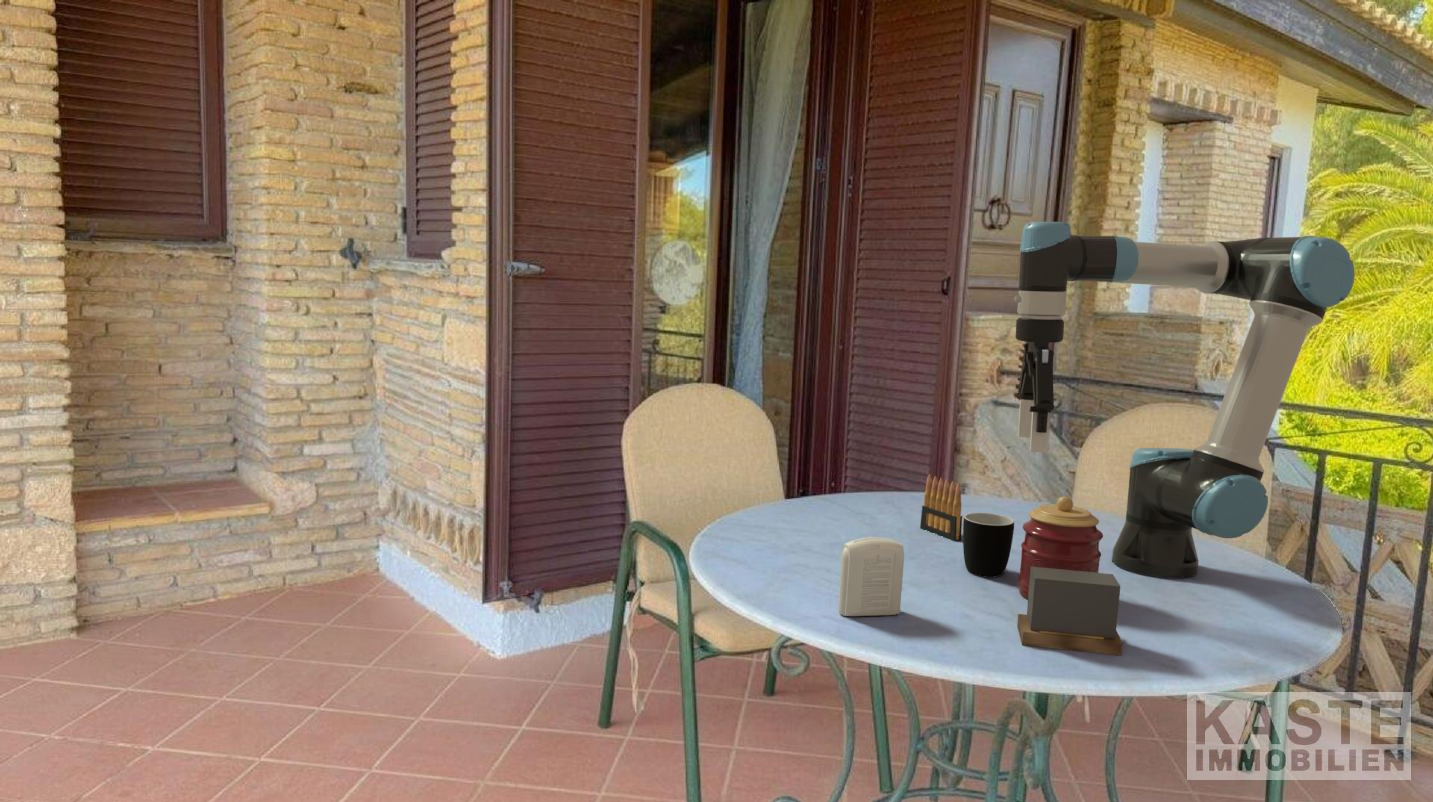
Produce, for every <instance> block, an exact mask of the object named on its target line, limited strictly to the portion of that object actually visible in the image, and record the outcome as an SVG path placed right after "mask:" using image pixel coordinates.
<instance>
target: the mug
mask: <svg viewBox="0 0 1433 802" xmlns="http://www.w3.org/2000/svg"><path fill="white" fill-rule="evenodd" d="M1014 531H1015V520H1014V519H1013V518H1011V517H1008V516H1006V515H1001V514H997V513H992V512H991V513H990V512H971V513H967V514H964V516H963V520H962V547H963V548H962V549H963V559H964V565H965V568H966V570H967V571H968V573H970V574H972V575H974V576H978V577H984V578H997V577H998V578H999V577H1001V576H1002V575H1003V574H1004V573H1005V571H1006V570H1007V569H1006V568H1007V565H1008V563H1009V559H1010V555H1011V550H1012V544H1013V540H1014V539H1013V538H1014V533H1015V532H1014Z"/></svg>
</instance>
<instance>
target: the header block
mask: <svg viewBox="0 0 1433 802" xmlns="http://www.w3.org/2000/svg"><path fill="white" fill-rule="evenodd" d="M1017 630H1018V634H1019V638H1020V642H1021V645H1022V646H1029V647H1031V646H1032V647H1039V648H1047V649H1056V650H1057V649H1059V650H1066V651H1075V652H1076V651H1077V652H1085V653H1094V654H1096V653H1097V654H1105V655H1113V656H1122V655H1123V654H1122V653H1123V643H1124V642H1123V640H1122V639H1121V637H1120V635H1119V632H1118V631H1117V630H1116V637H1115V639H1112V638H1103V637H1093V636H1084V635H1074V634H1065V633H1056V632H1046V631H1037V630H1030V626H1029V623H1028V619H1027V614H1021V613H1017Z"/></svg>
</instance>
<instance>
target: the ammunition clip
mask: <svg viewBox="0 0 1433 802" xmlns="http://www.w3.org/2000/svg"><path fill="white" fill-rule="evenodd" d="M955 485H956V486H955ZM919 529H920V530H922V531H923V530H924V531H925V530H927V531H926V532H928V531H929V532H928V533H931V534H933V533H935V534H934V535H936V534H937V536H939V537H941V536H943V537H942V538H943V539H947V540H949V539H950V541H953V542H957V541H962V531H963V515H962V488H961V483H960V482H958V483H957V484H955V481H954V480H952V481H951V483H949V480H948V479H947V478H946V480H945V482H944V480H943V478H942V477H940V479H939V481H938V477H937V475H935V476H934V478H933V480H932V475H931V473H929V474H928V476H927V479H926V486H925V491H924V498H923V505H922V506H921V517H920V525H919Z"/></svg>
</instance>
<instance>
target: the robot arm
mask: <svg viewBox="0 0 1433 802" xmlns="http://www.w3.org/2000/svg"><path fill="white" fill-rule="evenodd" d="M1071 227H1072V226H1071V224H1070V222H1063V221H1031V222H1028V223H1026V224H1025V225H1024V227H1023V229H1022V235H1021V239H1020V240H1021V241H1020V249H1019V252H1020V253H1019V254H1020V257H1019V275H1018V276H1019V277H1018V278H1019V279H1018V295H1015V296H1014V299H1013V300H1014V302H1015V303H1018V304H1017V308H1016V309H1017V314H1018V315H1020V317H1018V318H1017V319H1016V324H1015V339H1016V340H1017V341H1019V342H1020V341H1021V342H1025V343H1024V345H1023V348H1024V349H1023V357H1022V358H1023V359H1022V365H1021V366H1022V367H1021V373H1020V380H1019V387H1018V390H1017V391H1018V393H1019V398H1020V399H1019V410H1018V411H1019V412H1018V430H1017V437H1018V438H1026V439H1027V438H1029V439H1030V442H1029V452H1030V453H1045V454H1048V453H1049V443H1050V427H1051V412H1052V411H1054V408H1055V404H1054V354H1055V352H1054V350H1053V349H1050V345H1049V344H1050V343H1061V342H1062V341H1063V340H1064V331H1065V321H1064V319H1062V317H1064V316H1065V315H1066V306H1067V293H1068V291H1067V288H1068V282H1092V283H1093V282H1094V283H1097V282H1099V283H1110V284H1113V283H1116V284H1117V283H1118V284H1131V285H1134V284H1135V285H1136V284H1137V285H1152V286H1153V285H1154V286H1168V287H1183V288H1184V287H1185V288H1186V287H1187V288H1189V287H1190V288H1195V289H1197V291H1199V292H1201V293H1203V294H1213V295H1220V296H1221V295H1222V296H1227V297H1233V298H1238V299H1242V300H1246V301H1247V300H1248V301H1249V303H1248V304H1249V306H1250V308H1251V310H1252V312H1253V313H1254V316H1253V319H1252V321H1251V324H1250V326H1249V329H1248V333H1247V335H1246V338H1245V341H1244V343H1243V346H1242V348H1241V350H1240V353H1239V356H1238V359H1237V361H1236V364H1235V367H1234V370H1233V372H1232V374H1231V378H1230V381H1229V383H1228V385H1227V388H1226V389H1225V390H1226V391H1225V394H1224V395H1223V399H1222V401H1221V403H1220V407H1219V409H1218V412H1217V415H1216V418H1215V419H1214V422H1213V425H1212V428H1211V430H1210V432H1209V436H1208V438H1207V441H1206V442H1205V443H1204V444H1201V445H1199V446H1196V447H1195V448H1193V449H1190V448H1176V447H1174V448H1173V447H1142V448H1138V449H1136V450H1135V451H1134V452H1133V453H1132V457H1131V461H1130V465H1129V480H1128V494H1127V502H1126V515H1125V522H1124V525H1123V527H1122V529H1121V531H1120V533H1119V534H1118V535H1119V536H1118V538H1117V540H1116V542H1115V544H1114V546H1113V549H1112V556H1111V562H1112V563H1113V564H1114V565H1116V566H1117V567H1119V568H1121V569H1124V570H1127V571H1130V572H1133V573H1137V574H1140V575H1146V576H1151V577H1159V578H1167V579H1168V578H1169V579H1171V578H1172V579H1181V578H1182V579H1184V578H1190V577H1194V576H1196V575H1198V572H1199V557H1198V554H1197V549H1196V545H1195V540H1194V537H1193V531H1192V530H1193V529H1195V530H1197V531H1199V532H1201V533H1203V534H1206V535H1209V536H1215V537H1218V538H1221V539H1236V538H1240V537H1241V536H1243V535H1245V534H1248V533H1251V531H1253V530H1254V529H1255V528H1256V527H1257V526H1258V525H1259V524H1260V523H1261V521H1262V520H1263V518H1264V517H1265V514H1266V513H1267V510H1268V507H1269V506H1268V504H1269V497H1268V496H1267V495H1266V494H1267V492H1268V491H1267V489H1266V487H1265V485H1264V484H1263V483H1262V482H1261V481H1262V478H1263V476H1264V473H1265V469H1264V467H1263V466H1262V463H1261V462H1260V456H1261V454H1262V451H1263V448H1264V445H1265V444H1266V443H1265V442H1266V440H1267V438H1268V436H1269V432H1270V430H1271V427H1272V425H1273V422H1274V419H1275V417H1276V415H1277V413H1278V409H1279V406H1280V404H1281V402H1282V399H1283V396H1284V393H1285V391H1286V388H1287V385H1288V383H1289V380H1290V378H1291V376H1292V373H1293V370H1294V367H1295V366H1296V362H1297V359H1298V357H1299V354H1300V352H1301V349H1302V347H1303V344H1304V342H1305V339H1306V336H1307V334H1308V331H1309V330H1310V329H1312V328H1313V327H1315V326H1317V325H1319V324H1321V323H1322V322H1323V320H1324V318H1325V315H1326V312H1327V309H1328V308H1331V307H1334V306H1336V305H1339V304H1340V303H1341V302H1342V301H1343V302H1344V300H1345V299H1347V297H1348V296H1349V295H1350V293H1351V292H1352V289H1353V286H1354V284H1355V283H1354V282H1355V278H1356V277H1355V275H1356V273H1355V272H1356V271H1355V265H1354V261H1353V260H1352V258H1351V255H1350V252H1349V250H1348V249H1347V248H1346V247H1345V246H1344V245H1343V244H1342V243H1340V242H1339V241H1338V240H1335V239H1333V238H1329V237H1324V236H1323V237H1321V236H1314V235H1306V236H1288V237H1284V236H1283V237H1281V236H1280V237H1260V238H1259V237H1258V238H1257V237H1256V238H1249V239H1248V238H1247V239H1240V240H1228V241H1217V240H1209V241H1206V242H1204V243H1203V244H1201V245H1194V244H1192V245H1190V244H1177V243H1159V242H1146V241H1144V242H1143V241H1134V240H1133V239H1132V238H1130V237H1127V236H1119V235H1118V236H1117V235H1076V234H1072V230H1071V229H1072V228H1071Z"/></svg>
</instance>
